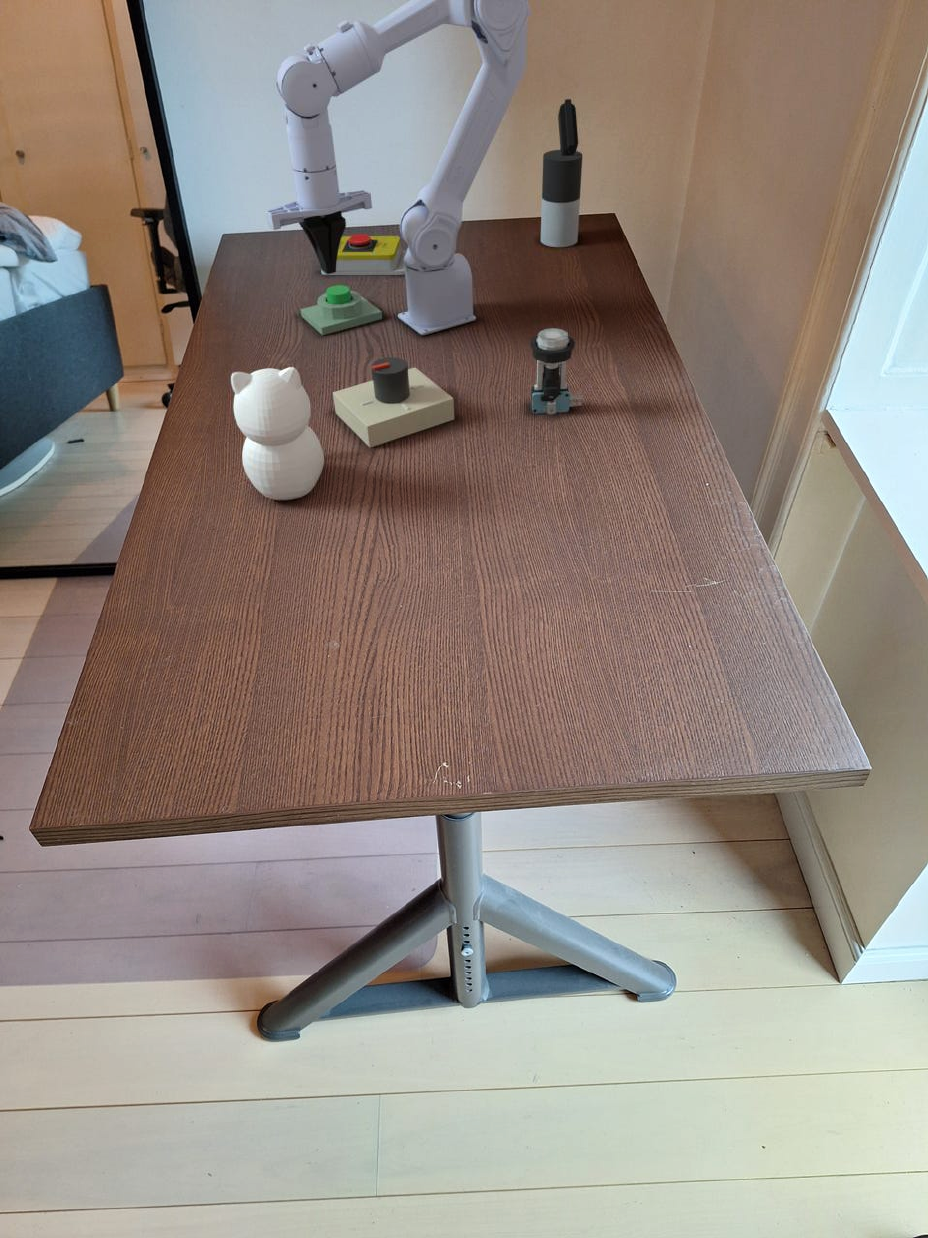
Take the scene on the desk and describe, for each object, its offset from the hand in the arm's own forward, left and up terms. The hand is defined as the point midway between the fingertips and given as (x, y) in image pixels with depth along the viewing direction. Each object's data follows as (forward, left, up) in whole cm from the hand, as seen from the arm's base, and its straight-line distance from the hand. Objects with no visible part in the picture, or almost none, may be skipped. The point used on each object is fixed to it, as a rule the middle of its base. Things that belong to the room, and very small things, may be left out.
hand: (328, 270), depth 120 cm
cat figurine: (+21, +32, -10) cm, 39 cm away
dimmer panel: (+4, +26, -9) cm, 28 cm away
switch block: (-3, -5, -9) cm, 11 cm away
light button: (-3, -5, -7) cm, 9 cm away
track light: (-48, -10, -10) cm, 50 cm away
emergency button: (-16, -22, -10) cm, 29 cm away
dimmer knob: (+4, +26, -6) cm, 27 cm away
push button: (-14, +36, -10) cm, 40 cm away
